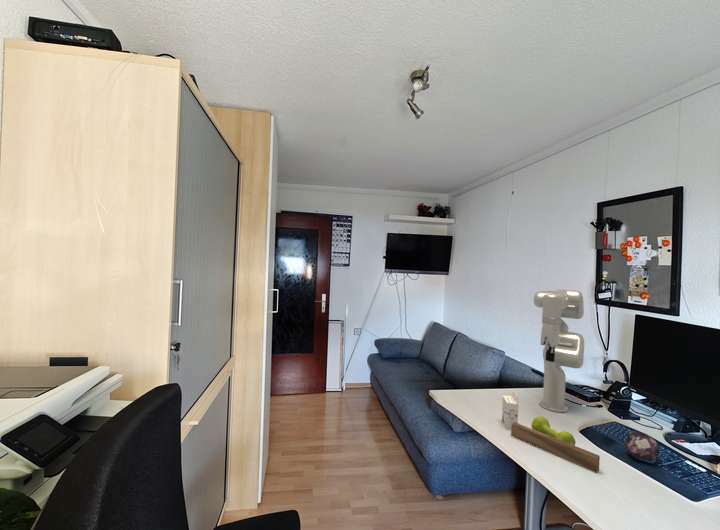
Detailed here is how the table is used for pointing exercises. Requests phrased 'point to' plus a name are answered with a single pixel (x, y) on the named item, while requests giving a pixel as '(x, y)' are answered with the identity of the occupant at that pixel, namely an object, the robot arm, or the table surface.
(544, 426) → the dumbbell
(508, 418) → the ink cartridge box
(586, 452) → the walnut board
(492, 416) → the table surface
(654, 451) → the mineral specimen
